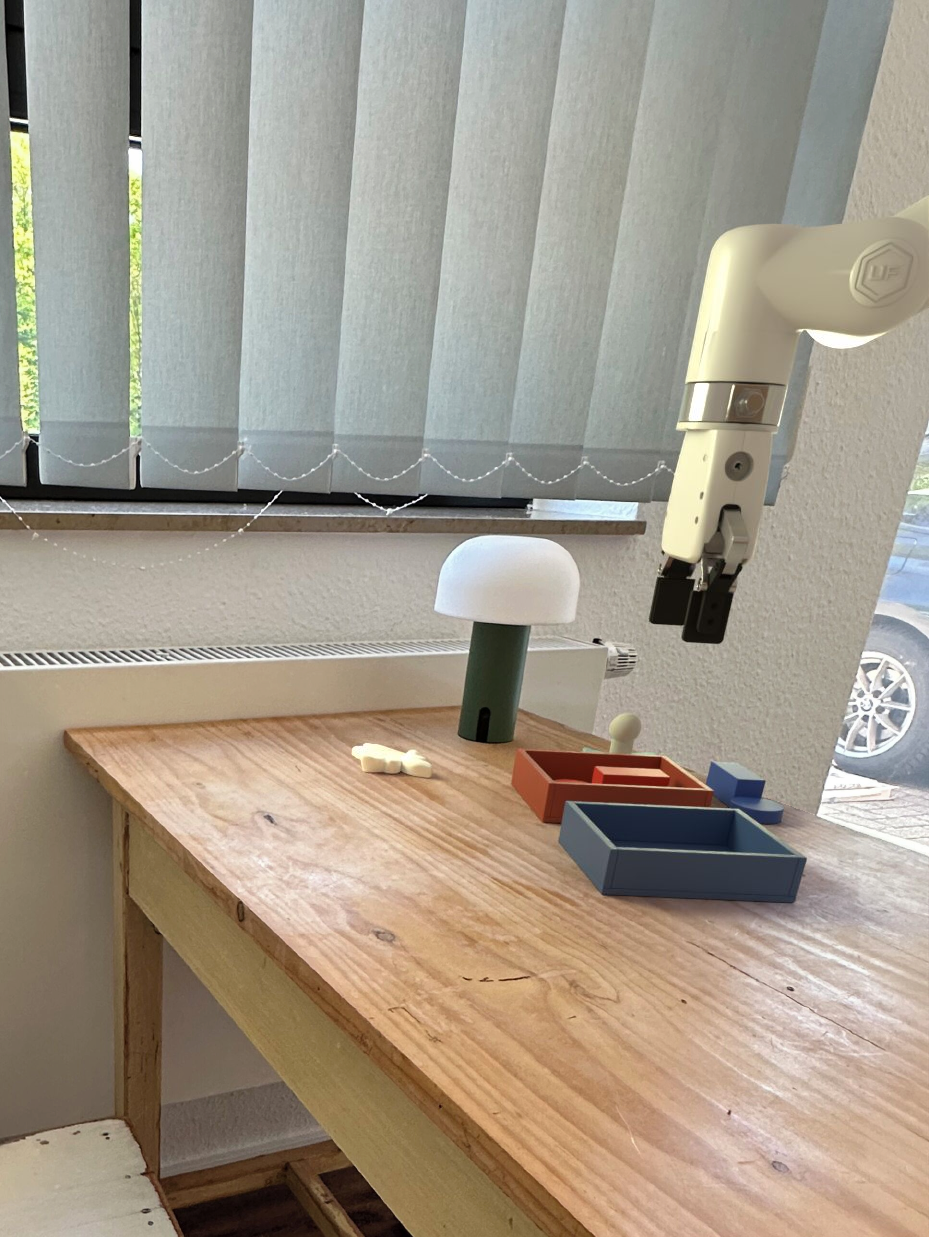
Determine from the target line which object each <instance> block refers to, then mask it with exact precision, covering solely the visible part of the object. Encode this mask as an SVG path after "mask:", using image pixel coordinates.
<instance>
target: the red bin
mask: <svg viewBox="0 0 929 1237" xmlns="http://www.w3.org/2000/svg"><path fill="white" fill-rule="evenodd" d="M595 766H599V767H621V768H642V769H660V770H661V771H662V772H664V773H665V774H666V775H668V776H669V777H670V781H669V786H668V787H658V786H636V785H615V784H594V783H592V778H593V773H594V768H595ZM561 779H567V780H577V781H582V782H586V783H572V782H554V781H553V780H561ZM510 785H511V786H512V787H513V788H514V790H515V791H516V792H517V793H518V795H519V796H520V797H521V799H523V800H524V802H525V803H526V804H527V805H528V807H529V809H531V810H532V811H533V813H534V814H535V815H536V816H537V817H538V819H539V820H540V822H542V823H549V824H550V823H551V824H552V823H553V824H561V823H562V818H563V812H564V807H565V802H566V801H579V802H600V803H622V804H644V805H665V806H687V807H708V808H712V802H713V797H714V796H713V794H714V790H712V789H711V788H709V787H708V786H707V785H706V783H704V782H703V781H701V780H700V779H698V778H697V777H696V776H694V775H693V774H691V773H690V772H689V771H688V770H686V769H684V768H683V767H681V766H680V765H679V764H677V763H676V762H675V761H674V760H672V759H671V758H669V757H668V756H667V755H664V754H663V755H661V754H659V755H643V754H622V753H609V752H608V753H601V752H584V751H581V750H580V751H576V750H574V751H573V750H556V749H536V748H516V751H515V756H514V763H513V770H512V775H511V781H510Z"/></svg>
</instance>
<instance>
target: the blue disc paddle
mask: <svg viewBox="0 0 929 1237" xmlns="http://www.w3.org/2000/svg"><path fill="white" fill-rule="evenodd" d="M766 782H767V781H766V779H764V778H763V777H761V776H759V775H758V774H756V773H755V772H753V771H752V770H750V769H749V768H747V767H745V765H743V764H741V763H739V762H736V761H716V760H715V761H710V765H709V769H708V773H707V777H706V782H705V785H707V786H708V787H709V788H711V789H712V790H714V794H713V797H715V798H716V799H717V800H719V801H720V802H722V804H725V805H726V806H727V808H728V807H729V808H730V809H740V810H741V811H743V812H744V813H745V814H747V815H748V816H749V817H751V818H752V819H754V820H755V821H756V822H758V823H759V824H761V825H762V824H763V825H774V824H778V823H780V822H782V818H783V814H784V811H785V807H784V805H782V804H781V803H780V802H777V801H775V800H771V799H768V798H764V797H763V794H764V790H765V785H766Z"/></svg>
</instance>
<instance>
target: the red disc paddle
mask: <svg viewBox="0 0 929 1237" xmlns="http://www.w3.org/2000/svg"><path fill="white" fill-rule="evenodd" d="M553 781H554V782H572V783H586V782H582V781H577V780H567V779H561V780H553ZM669 781H670V777H669V776H668V775H666V774H665V773H664V772H662V771H661V770H660V769H642V768H621V767H599V766H595V768H594V773H593V778H592V783H594V784H615V785H636V786H658V787H668V786H669Z"/></svg>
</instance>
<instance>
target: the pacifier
mask: <svg viewBox="0 0 929 1237" xmlns="http://www.w3.org/2000/svg"><path fill="white" fill-rule="evenodd" d="M641 731H642V721H641V719H640V717H639V716H638V715H637V714H635V713H633V712H623V713H621V714H619V715H617V716H615V717H614V719H613V720H612V721H611V723H610V724H609V727H608V733H609V736H610V739H611V742H610V746H609V752H607V751H603V750H596V749H594V748H590V747H587V746H583V747H582V752H601V753H622V754H643V755H659V756H660V754H659V753H658V752H653V751H652V752H651V751H644V752H642V751H641V752H633V748H634V747H633V746H634V743H635V740H636V739H637V738H638V737H639V735H640V733H641Z"/></svg>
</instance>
